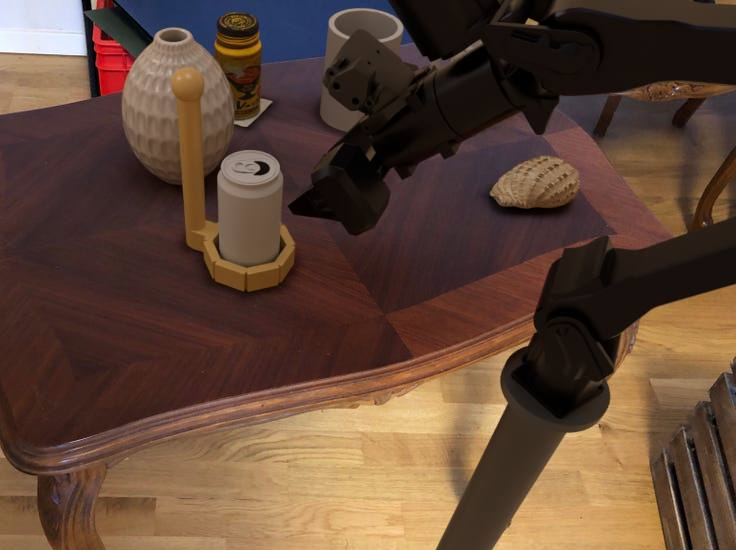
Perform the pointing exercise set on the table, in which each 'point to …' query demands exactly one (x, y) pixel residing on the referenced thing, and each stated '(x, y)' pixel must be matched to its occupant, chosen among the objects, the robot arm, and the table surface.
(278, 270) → the holder
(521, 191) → the seashell
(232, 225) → the beverage can
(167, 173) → the vase
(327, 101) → the cup
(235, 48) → the condiment
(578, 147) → the table surface
